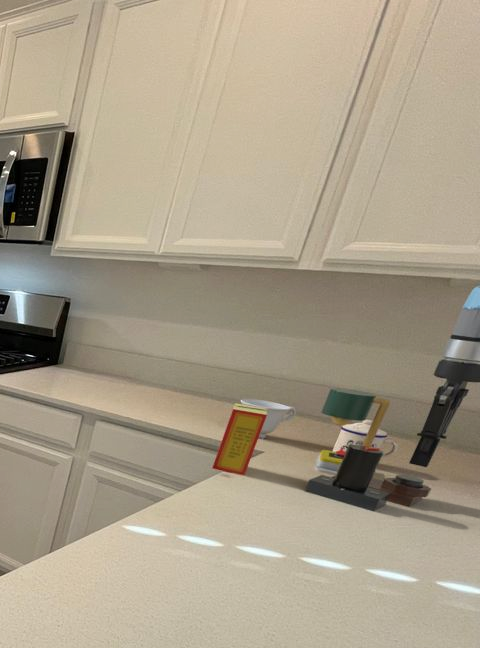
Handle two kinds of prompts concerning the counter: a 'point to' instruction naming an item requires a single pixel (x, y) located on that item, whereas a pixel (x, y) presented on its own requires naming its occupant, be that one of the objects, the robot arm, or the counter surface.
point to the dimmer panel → (347, 493)
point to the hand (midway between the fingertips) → (418, 464)
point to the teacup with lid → (361, 437)
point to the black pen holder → (357, 467)
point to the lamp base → (399, 491)
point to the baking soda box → (240, 438)
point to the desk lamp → (354, 409)
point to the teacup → (271, 414)
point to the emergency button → (329, 461)
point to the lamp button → (409, 481)
